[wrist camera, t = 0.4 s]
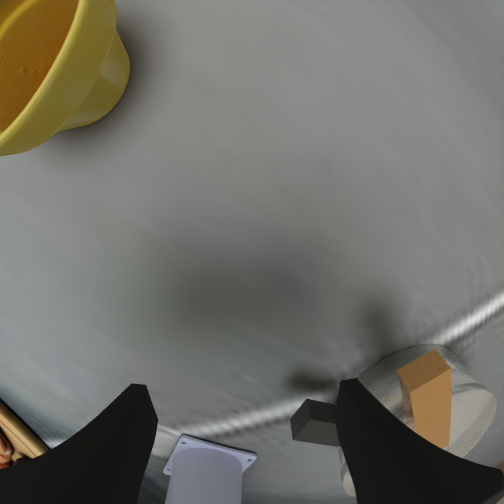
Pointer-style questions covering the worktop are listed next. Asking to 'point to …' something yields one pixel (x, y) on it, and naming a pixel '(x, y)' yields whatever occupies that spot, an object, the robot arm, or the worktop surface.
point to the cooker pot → (380, 385)
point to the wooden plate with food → (16, 440)
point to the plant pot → (57, 68)
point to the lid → (440, 408)
